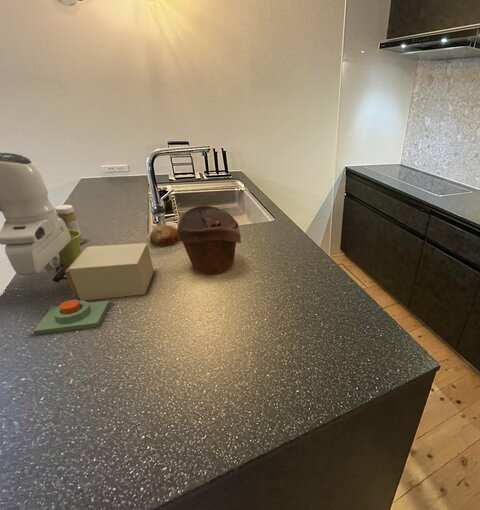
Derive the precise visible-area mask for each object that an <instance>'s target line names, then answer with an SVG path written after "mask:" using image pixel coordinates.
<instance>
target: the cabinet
mask: <svg viewBox="0 0 480 510" xmlns="http://www.w3.org/2000/svg"><path fill="white" fill-rule="evenodd" d="M82 251H83V253H82V254H81V255H80V256H79V257H78V258H77V260H76V261H75V262H74V263H73V264H72V265H71V264H70V265H71V267H70V268H69V272H70V274H71V277H72V280H73V282H74V285H75V287H76V290H77V293H78V295H79V297H78V298H79V301H80V300H81V301H86V302H87V301H93V300H104V299H112V298H123V297H134V296H142V295H146V293H147V290H148V288H149V285H150V283H151V280H152V277H153V275H154V271H155V270H154V266H153V262H152V257H151V253H150V249H149V245H148V243H147V242H141V243H125V244H108V245H107V244H106V245H94V246H93V245H92V246H86V248H85V249H83V250H82Z"/></svg>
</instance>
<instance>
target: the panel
mask: <svg viewBox="0 0 480 510" xmlns="http://www.w3.org/2000/svg"><path fill="white" fill-rule="evenodd" d="M78 301H79V302H80V305H81V309H80V310H79V311H77V312H74V313H71V314H63V313H62V311H61V309H60V305H56V306H51V307H50V308H49V309H48V311H47V312H46V314H44V316H43V317H42V319H41V320H40V321H39V322H38V324H37V325H36V326H35V328H34V329H33V330H32V332H33V334H34V336H39V335H45V334H52V333H53V334H54V333H61V332H68V331H76V330H84V329H92V328H99V327H100V325H101V323H102V321H103V319H104V317H105V316H106V313H107V312H108V310H109V308H110V306H111V303H110V300H101V301H95V302H89V301H87V300H86V301H81V300H80V299H79V300H78Z"/></svg>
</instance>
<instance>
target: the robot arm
mask: <svg viewBox="0 0 480 510" xmlns="http://www.w3.org/2000/svg"><path fill="white" fill-rule="evenodd" d="M48 195H49V191H48V189H47V186H46V183H45V181H44V179H43V177H42V175H41V173H40V171H39V169H38V167H37V165H35V163H34V162H33V161H32V160H31V159H30V158H29V157H27V156H24V155H21V154H18V153H12V152H11V153H10V152H0V212H1V213H2V215H3V217H4V219H5V221H4V222H3V226H2V227H1V230H0V245H3V246H4V245H5V247H4V251H5V254H6V257H7V259H8V261H9V263H10V265H11V267H12V268H13V270H14V271H15V273H16V274H18V275H20V276H30V275H31V276H32V275H38V274H39V273H40V272H41V271H42V270H43V269H44V270H45V271H46V273H47V275H50V276H51V275H54V276H55V275H56V274H57V273H58V272H59V271H60V270H61V269H62V266H61V264H59V252H60V251H61V250H62V249H63V248H64V247H65V246H66V245H67V244H68V243H69V242H70V241H71V235H70V233H69V231H68V228H67V226H66V224H65V222H64V221H63V220H62V219H61V218H59V217H58V214H57V213H56V211H55V207H54V205H53V204H52V203H51V202H50V200H49V197H48Z"/></svg>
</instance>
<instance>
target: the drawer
mask: <svg viewBox="0 0 480 510" xmlns="http://www.w3.org/2000/svg"><path fill="white" fill-rule="evenodd" d="M83 251H84V250H81V253H80V254H79V256H80V255H81V254H82V253H83ZM79 256H78V257H79ZM78 257H77V258H78ZM77 258H76V259H75V260H74V261H73V263H74V262H75V261H76V260H77ZM73 263H72V264H73ZM72 264H66V265H62V266H61V269H60V270H59V271H58V272H57V273H56V274H54V276H53V277H52V279H51V280H52V282H54V283H60V282H61V281H65V280H66V281H68V284H69V286H70V288H71V291H72V294H73V296H74V298H79V295H78V293H77V290H76V287H75V285H74V282H73V280H72V277H71V274H70V272H69V268H70V267H71V265H72Z"/></svg>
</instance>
